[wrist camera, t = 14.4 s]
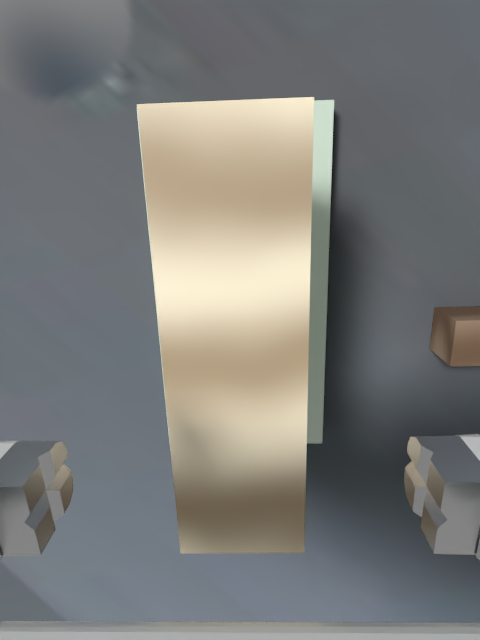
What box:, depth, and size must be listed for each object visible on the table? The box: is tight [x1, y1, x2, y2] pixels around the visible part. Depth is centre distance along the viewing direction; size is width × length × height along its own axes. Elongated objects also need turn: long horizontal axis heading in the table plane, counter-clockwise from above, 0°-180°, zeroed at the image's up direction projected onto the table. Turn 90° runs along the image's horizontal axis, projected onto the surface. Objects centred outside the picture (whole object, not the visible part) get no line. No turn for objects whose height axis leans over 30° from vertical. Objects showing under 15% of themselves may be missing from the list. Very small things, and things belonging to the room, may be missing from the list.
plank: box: [137, 97, 314, 553], centre depth 17 cm, size 18×6×4 cm, turn 2°
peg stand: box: [137, 100, 334, 443], centre depth 23 cm, size 22×11×8 cm, turn 2°
